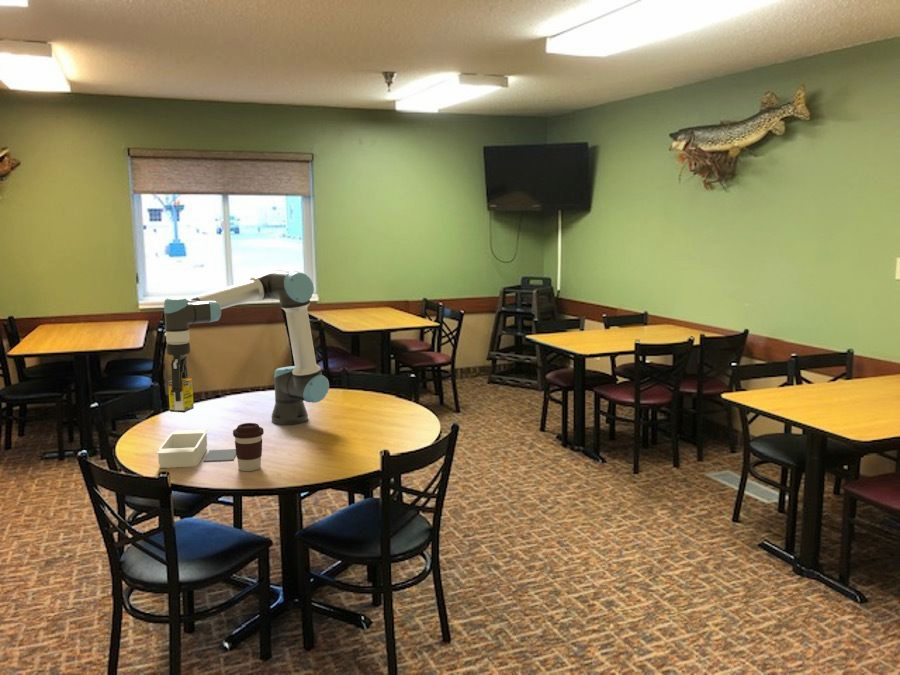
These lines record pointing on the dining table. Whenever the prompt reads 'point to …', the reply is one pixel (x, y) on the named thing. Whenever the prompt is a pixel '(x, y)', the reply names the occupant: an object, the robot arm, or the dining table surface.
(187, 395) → the supplement box
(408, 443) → the dining table surface
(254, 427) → the coffee cup
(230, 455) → the mat
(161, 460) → the carton
